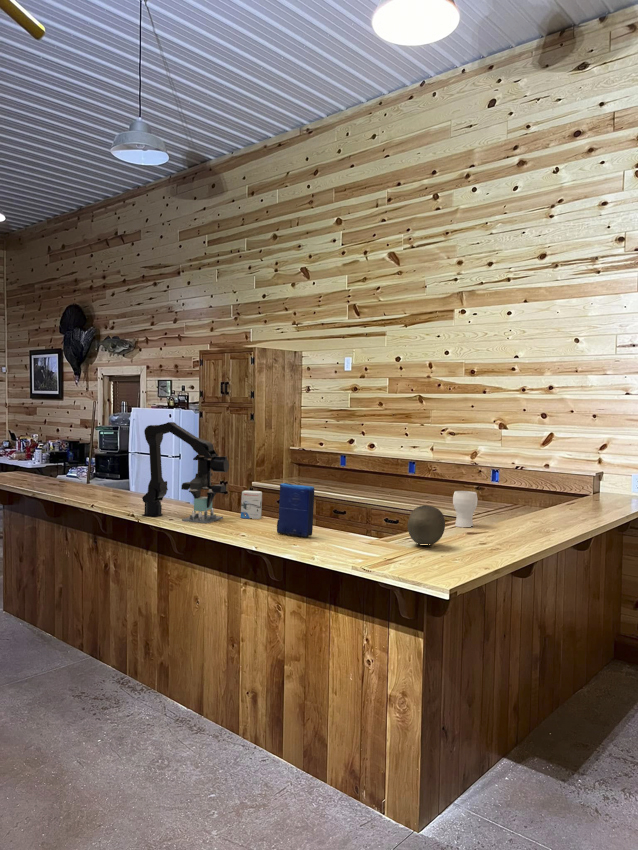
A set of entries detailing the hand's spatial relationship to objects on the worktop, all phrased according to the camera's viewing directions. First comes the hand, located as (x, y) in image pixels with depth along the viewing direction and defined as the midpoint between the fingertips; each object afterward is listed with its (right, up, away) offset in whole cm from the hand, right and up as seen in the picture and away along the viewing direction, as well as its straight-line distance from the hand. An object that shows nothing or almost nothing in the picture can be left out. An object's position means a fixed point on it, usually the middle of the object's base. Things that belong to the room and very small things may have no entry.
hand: (203, 507), depth 276 cm
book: (+40, -8, -27) cm, 49 cm away
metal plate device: (0, -5, 0) cm, 5 cm away
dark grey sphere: (+89, -10, -39) cm, 98 cm away
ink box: (+20, -6, +9) cm, 22 cm away
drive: (0, -1, 0) cm, 1 cm away
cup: (+113, -9, +6) cm, 114 cm away
